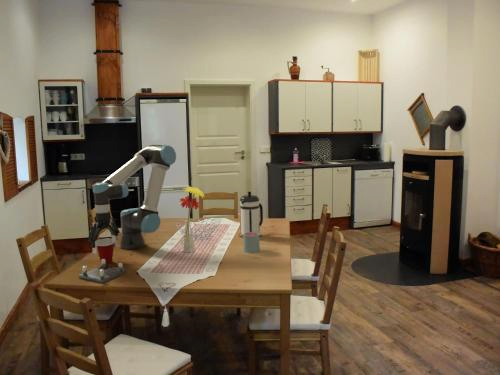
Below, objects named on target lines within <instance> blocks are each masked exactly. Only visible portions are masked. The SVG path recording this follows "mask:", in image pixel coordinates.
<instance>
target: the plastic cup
mask: <svg viewBox="0 0 500 375" xmlns="http://www.w3.org/2000/svg"><path fill="white" fill-rule="evenodd" d="M96 242H97V254H98V256H99V260H100V262H101V259H105V261H106V265H107V264H111V263H112V262H113V256H114V249H115V247H114V243H115V240H114V239H112V238H107V237H106V238H101V239H100V238H99V239H96Z"/></svg>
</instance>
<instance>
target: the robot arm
mask: <svg viewBox="0 0 500 375" xmlns="http://www.w3.org/2000/svg"><path fill="white" fill-rule="evenodd" d="M176 160H177V152H176V150H175V149H174V148H173V147H172V146H171V145H170V144H169V145H168V144H167V145H166V144H151V145H150V144H149V145H147V146H145V147H143V148H142V149H141V150H139V151H138V152H136V153H135V154H134V155H133V158H132V159H131V158H130V160H129V161H127V162H126V163H125V164H123V165H122V166H121V167H120V168H119V169H117V170H116V171H114V172H113V173H112V174H111V175H109V176H108V177H107V178H106V179H105V180H103V181H102V182H96V183H94V185H93V186H92V192H93V197H94V209H95V210H94V211H95V220H96V222H91V228H90V231H89V235H88V237H87V242H90V245H91V246H90V247H91V248H92V254H94V255H97V254H98V250H97V242H96V241H97V240H98V237H99V235H100V233H101V232H102V230H105V229H107V230H108V231H109V232H110V233H111V234H112V235H111V239H114V240H115V243H114V248H117V247H118V236H119V234H120V233H121V236H120V240H119V248H121V249H122V250H124V249H125V250H134V249H139V248H142V247H144V246H145V245H146V241H145V239H144V236H143V233H144V234H152V233H155V232H156V231H157V230H158V229H159V228H160V226H161V219H160V218H161V217H160V216H159V213H160V212H159V210H158V206H159V202H160V199H161V193H162V190H163V186H164V180H165V177H166V174H167V171H168V170H170V168H171V166H172V165H173V164H175V162H176ZM148 165H150V166H151V170H150V175H149V179H148V183H147V187H146V190H145V196H144V199H143V202H142V205H141V206H140V207H136V208H128V209H123V210H121V212H120V228H121V231H120V230H119V227H118V226H117V224H116V219H115V218H114V217H113V218H111V204H110V201H111V200H115V199H123V198H126V197H127V196H128V195H129V187H128V186H127V184H125V183H124V182H126V180H128V179H129V178H130V177H131V176H133V175H134V174H135V173H137V171H139V170H140V169H142V168H146V167H147V166H148Z"/></svg>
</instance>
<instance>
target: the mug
mask: <svg viewBox="0 0 500 375" xmlns="http://www.w3.org/2000/svg"><path fill="white" fill-rule="evenodd" d="M259 235H260V232H259V233H257V232H246V233H244V234H243V235H242V236H243V237H242V238H243V252H245V253H248V254H255V253H259V252H260V250H261V249H260V246H261V245H260V236H259Z"/></svg>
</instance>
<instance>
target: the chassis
mask: <svg viewBox="0 0 500 375" xmlns="http://www.w3.org/2000/svg"><path fill="white" fill-rule="evenodd" d="M100 263H101V265H100V266H98V267H96V268H93V269H90V270H88V269H87V265H83V266H81V269H82V270H81V271H82V273H80V274H78V278H79V279H83V280H86V281H87V280H88V281H91V282H96V283H99V282H100V283H101V284H103V283H105V282H108V281H110V280H113V279H115V278H118V277H120V276H122V275H124V274H127V271H128V270H127V269H125V268H123V266H124V265H123V262H122V261H120V262H117V266H118V267H115V266H109V265H107V264H106V261H105V259H101V261H100ZM100 283H99V284H100Z"/></svg>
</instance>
